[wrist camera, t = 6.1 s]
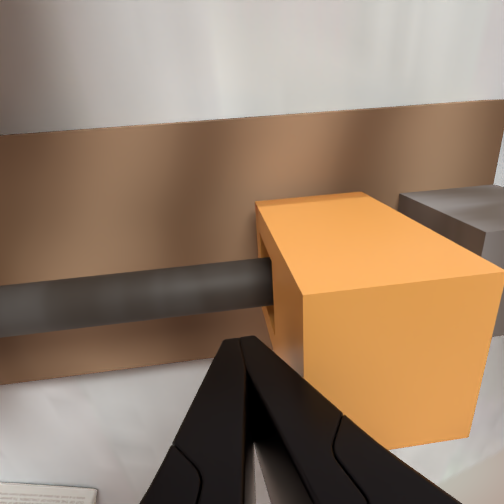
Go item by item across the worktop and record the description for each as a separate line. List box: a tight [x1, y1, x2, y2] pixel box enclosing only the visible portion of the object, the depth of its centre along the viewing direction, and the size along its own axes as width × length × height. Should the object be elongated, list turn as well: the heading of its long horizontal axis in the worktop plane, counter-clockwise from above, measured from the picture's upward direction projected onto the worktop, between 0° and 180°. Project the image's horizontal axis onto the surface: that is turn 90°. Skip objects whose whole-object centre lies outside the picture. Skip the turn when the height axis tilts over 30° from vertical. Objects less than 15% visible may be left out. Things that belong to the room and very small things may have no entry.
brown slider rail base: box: [0, 100, 504, 385], centre depth 13 cm, size 24×10×6 cm, turn 94°
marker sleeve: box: [255, 192, 504, 450], centre depth 11 cm, size 4×4×7 cm
